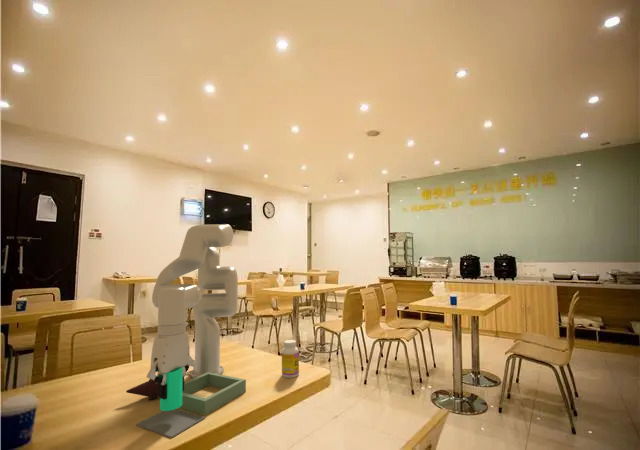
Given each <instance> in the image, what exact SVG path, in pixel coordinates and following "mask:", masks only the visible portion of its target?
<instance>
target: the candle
mask: <svg viewBox="0 0 640 450" xmlns="http://www.w3.org/2000/svg"><path fill="white" fill-rule="evenodd" d="M161 379H162V375H161ZM182 383H183V367H181V368H179V369H176V370H174V371H171V372H168V373H167V379H166V383H165V384H167V399H165V400H164V399H161V398H159V410H160V411H170V410H175V409H180V408H179V407H180V406H182Z"/></svg>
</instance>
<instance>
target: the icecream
mask: <svg viewBox="0 0 640 450" xmlns="http://www.w3.org/2000/svg"><path fill="white" fill-rule="evenodd" d="M125 392H126V393H127V394H133V395H138V396H143V397H147V398H148V401H150V400H151V399H155V398H158V384H156V382H154V381H153V380H151V379H149V380H148V381H145V382H143V383H140V384H138V385H136V386H133V387H131V388H129V389H127V390H125Z"/></svg>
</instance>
